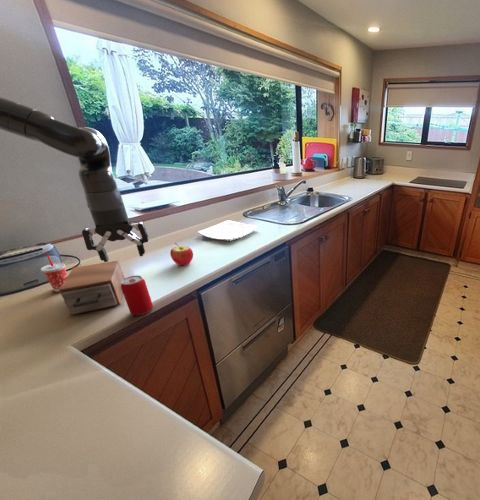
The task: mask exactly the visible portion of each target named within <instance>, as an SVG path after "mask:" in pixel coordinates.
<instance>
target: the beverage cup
mask: <svg viewBox="0 0 480 500" xmlns="http://www.w3.org/2000/svg"><path fill="white" fill-rule="evenodd" d="M45 255H46V257H47V258H48V262H49V264H46V265H43V266H42V267H41V268H40V271H41V273H43V274H44V276H45V278H46V279H47V281H48V283H49V285H50V287H51V288H52V290H53V291H54V292H58V293H59V292H60V290H59V289H60V288H61V286H62V285H63V283H64V282H65V280H66V278H67V277H68V275H69V273H68V271H67V269H66V264H65V263H64V262H53V261H52V259H51V257H50V255H49V253H45Z"/></svg>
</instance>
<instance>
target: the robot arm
mask: <svg viewBox="0 0 480 500" xmlns="http://www.w3.org/2000/svg"><path fill="white" fill-rule="evenodd" d="M0 130H1V131H4V132H6V133H10V134H13V135H16V136H18V137H22V138H26V139H28V140H31V141H35V142H38V143H41V144H44V145H45V146H47V147H49V148H52V149H54V150H56V151H59V152H61V153H64V154H65V155H68V156H71V157H75V158H78V161H79V166H80V167H79V169H78V178H79V182H80V184H81V186H82V189H83V193H84V196H85V200H86V206H87V208H88V210H89V212H90V215H91V218H92V220H93V223H94V225H95V227H84V228H83V229H82V230H81V235H82V238H83V241H84V244H85V247H86V250H88V251H92V250H93V251H96V252H97V254H98V256H99V259H100V260H101V261H103V263H106V262H109V255H108V253H107V250H106V248H105V247H104V246H105V245H106V243H107V241H109V242H116V241H125V240H126V239H127V240H128V241H130V242H132V243H134V244H135V245H136V249H137V251H138V254H139V257H144V255H145V252H146V250H145V246H144V244H145V243H148V242H149V238H150V237H149V234H148V232H147V229H146V227H145V223H144V222H143V221H138V222H136V223H131V222H130V220H129V217H128V213H127V209H126V206H125V203H124V200H123V197H122V194H121V191H120V190H119V188H118V184H117V181H116V179H115V176H114V172H113V170H112V169H113V168H112V160H111V154H110V148H109V145H108V142H107V140H106V138H105V137H104V136H103V134H102V133H101V132H100V131H98V130H96V129H95V128H92V127H88V126H81V127H76V126H74V125H70V124H69V123H68V124H67V123H65V122H62V121H59V120H57V119H54V117H53V116H52V115H50V114H48V113H46V112H43V111H41V110H39V109H35V108H33V107H30V106H27V105H24V104H21V103H19V102H16V101H14V100H11V99H9V98H8V99H7V98H5V97H2V96H0ZM133 229H135V230H136V231H139V233H140V236H141V237H138V235H136V234H135V233H134V232H132V230H133ZM95 233H96V234H97V235H98V236H100V237H102V238H101V239H100V241H99V242H98V243H97V244H96V243H95V242H94V239H93V236H94V235H95Z"/></svg>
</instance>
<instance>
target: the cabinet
mask: <svg viewBox="0 0 480 500" xmlns="http://www.w3.org/2000/svg"><path fill="white" fill-rule="evenodd" d="M125 278H126V277H125V275H124V272H123V269H122V267H121V264H120V261H119V260H114V261H108V262H100V263H95V264H88V265H82V266H81V265H80V266H75V267H72V269H71V270H70V272H69V273H68V277H67V278H66V280H65V282H64V283H63V285H62V286H61V288H60V289H59V290H60V291H59V292H60V295H61V297H62V299H63V301H64V303H65V305H66V308H67V310H68V311H69V313H70V315H71V316H73V315H78V314H84V313H87V312H92V311H96V310H101V309H106V308H111V307H116V306H120V305H121V303H122V299H123V297H124V294H123V292H122V289H121V284H122V283H121V282H122V280H124V279H125ZM106 283H110V285H111V288H112V291H113V293H114V296H115V299H116V301H117V305H113V306H108V307H104V308H99V309H94V310H90V311H85V312H80V313H76V314H71V312H70V310H69V308H68V306H67V304H66V302H65V300H64V298H63V295H62V293H63V292H65V291H68V290H73V289H78V288H84V287H89V286H95V285H100V284H106Z"/></svg>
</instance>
